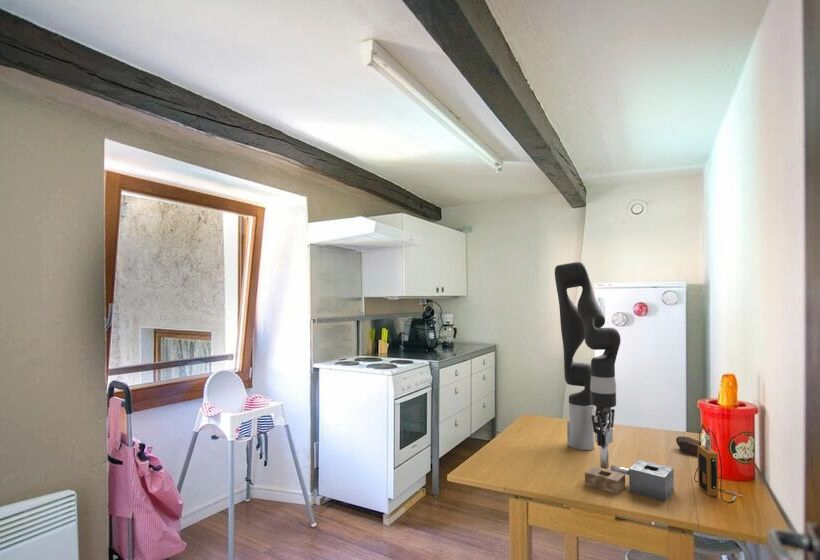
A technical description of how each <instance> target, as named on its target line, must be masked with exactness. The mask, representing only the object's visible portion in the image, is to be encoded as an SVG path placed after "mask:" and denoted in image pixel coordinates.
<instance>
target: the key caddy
mask: <svg viewBox="0 0 820 560" xmlns="http://www.w3.org/2000/svg"><path fill="white" fill-rule="evenodd" d="M584 486H587V487H591V488H594V489H596V490H597V489H598V490H601V491H604V492H608V493H612V494H615V495H619V494H620V493H621V492H622V491H623V490H624V489H625V488H626V474H622V473H618V472H614V471H611V469H603V468H601V467H598V466H594V465H592V466H591V467H589V469H588V470H586V471H585V472H584Z"/></svg>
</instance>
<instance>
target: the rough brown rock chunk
mask: <svg viewBox="0 0 820 560" xmlns="http://www.w3.org/2000/svg"><path fill="white" fill-rule="evenodd" d="M675 442H676V444H677V447H678V449H679V451H681V452H683V453H685V454H687V455H691V456H698V448H697V446H698V445H700V442H701V441H700V442H699V440H697V439H696V438H692V437H689V436H680V435H679V436H677V437H676V441H675Z"/></svg>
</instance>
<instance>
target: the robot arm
mask: <svg viewBox="0 0 820 560" xmlns="http://www.w3.org/2000/svg"><path fill="white" fill-rule="evenodd" d="M554 280H555V285H556V292H557V298H558V305H559V306H558V307H559V308H558V309H559V322H560V323H559V324H560V331H561V338H562V339H561V341H562V347H563V372H564V380H565V382H566V384H567V385H569V386H575V387H584V388H583V389H582V390H581V391H578V392H575V393H574V392H573V393H572V394H569V396H568V421H567V422H566V431H567V433H566V434H567V437H566V439H567V442H566V443H567V444H566V445H567V446H568V447H570V448H572V449H575V450H579V451H591V450H594V449H595V433H597V442H596V444H597V446H598V447H600V446H602V447H604V446H605V428H609V429H613V428H614V421H615V411H616V410H615V409H614V407H617V383H616V370H615V368H616V367H615V366H616V365H615V364H616V360H617V356H618V352H619V350H620V347H621V346H620V345H621V335H620V332H619V331H618V329H616V328H614V327H604V326H605V324H606V318H605V315H604V314H603V311H602V310H601V309H602V308H601V307H600V306H599V304H598V302H597V299H596V296H595V292H594V289H593V285H592V282H591V278H590V276H589V273H588V270H587V268H586V265H584V263H583V262H581V261H575V262H569V263H563V264H558V265H556V266H555V267H554ZM579 287H581V289H582V290H581V294H580V296H579V299H578V302H577V306H576V305H575V304H574V302H573V301H572V300H571V298H570V297H569V293H568V289H571V288H579ZM583 342H584V344H585V345H586V347H588V348H589V349H590V350H596V351H597V350H598V351H599V350H601V351H603V350H604V351H603V353H602V354H601V355H599V356H595V357H592V358H591V361H590V363H589V362H577V361H576V362H575V361H574V356H575V354H576V352H577V351H578V349H579V348H580V346H581V345H582V344H583ZM594 406H595V411H594ZM602 427H603V428H602ZM599 429H600V430H599Z"/></svg>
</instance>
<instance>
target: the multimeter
mask: <svg viewBox="0 0 820 560" xmlns="http://www.w3.org/2000/svg"><path fill="white" fill-rule="evenodd" d="M702 429H703V430H704V432H705V443H704V444H705V445H702V446H701V442H702V441H701V432H702ZM709 432H711V433H712V436H713V438H714V441H715V445H716V448H717V451H718V453H717V452H716V451H715V450H713V449H712V448H710V443H709ZM698 439H699V440H698V441H699V442H700V445H698V446H697V448H698V455H697V468H696V470H695V473H694V476H693V480H694V481H695V482H696V483H698V485H697V486H698V488H700V489H701V490H702V491H704V492H705V493H706V495H707V496H710V497H712V496H713V497H719V495H720V498H721V501H723V503H727V502H728V503H733V502H734V501H735V500H736V499H737V496H740V497H743V495H742V494H738V493H736V492H734V491H733V492H732V491H729V490H724V489H722V482H723V466H722V459H721V458H722V457H721V454H720V450H719V445H718V441H717V438H716V437H715V434H714V432H713V430H711V429H708V430H706V428H705V427H704V425H703V424H702V425H701V427H700V430H699V434H698ZM719 463H720V485H719ZM696 475H697V480H696ZM719 486H720V488H719ZM719 491H720V492H719ZM722 492H725V493H727V492H728V494H731V493H732V494H731V495H734V494H735V496H733V498H732V499H731V501H726V500H725V499H723V493H722ZM719 493H720V494H719ZM728 503H727V504H728Z"/></svg>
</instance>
